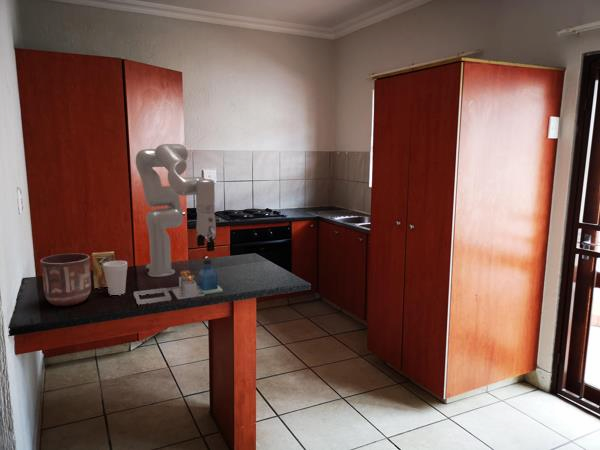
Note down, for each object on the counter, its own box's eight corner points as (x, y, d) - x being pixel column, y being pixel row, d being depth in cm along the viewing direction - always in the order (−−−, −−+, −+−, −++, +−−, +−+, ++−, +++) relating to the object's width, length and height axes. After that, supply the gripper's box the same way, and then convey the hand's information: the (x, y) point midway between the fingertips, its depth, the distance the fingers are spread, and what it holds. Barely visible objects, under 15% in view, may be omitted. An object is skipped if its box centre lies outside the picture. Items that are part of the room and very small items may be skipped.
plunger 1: (182, 289, 195) (181, 273, 194) (180, 286, 199) (179, 271, 198) (191, 288, 197) (190, 272, 196) (189, 285, 201) (188, 270, 199)
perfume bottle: (217, 288, 198) (216, 261, 196) (203, 290, 195) (202, 263, 193) (212, 285, 203) (211, 258, 201) (199, 287, 200) (198, 260, 198)
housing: (137, 304, 180) (136, 290, 179) (133, 294, 192) (132, 281, 192) (204, 295, 191) (204, 282, 190) (196, 286, 204) (196, 273, 203)
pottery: (40, 312, 172) (37, 265, 169) (45, 298, 188) (42, 255, 185) (92, 306, 179) (90, 261, 176) (93, 293, 195) (90, 251, 192)
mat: (199, 294, 192) (199, 292, 192) (194, 288, 201) (194, 286, 201) (222, 291, 197) (222, 289, 197) (216, 285, 206) (216, 283, 205)
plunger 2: (186, 294, 188) (185, 278, 187) (184, 291, 192) (183, 275, 191) (195, 293, 190) (195, 276, 189) (193, 290, 193) (193, 274, 192)
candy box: (116, 284, 207) (114, 251, 204) (116, 287, 203) (113, 253, 200) (94, 286, 204) (92, 252, 201) (94, 289, 200) (91, 254, 197)
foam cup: (114, 298, 188) (112, 267, 185) (100, 294, 193) (98, 264, 190) (133, 292, 196) (132, 262, 193) (119, 288, 200) (118, 259, 198)
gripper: (222, 211, 189) (222, 251, 192) (205, 205, 202) (205, 243, 206) (205, 212, 184) (206, 254, 188) (188, 206, 198) (189, 245, 201)
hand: (205, 248), depth 197 cm, fingers open, 9 cm apart
